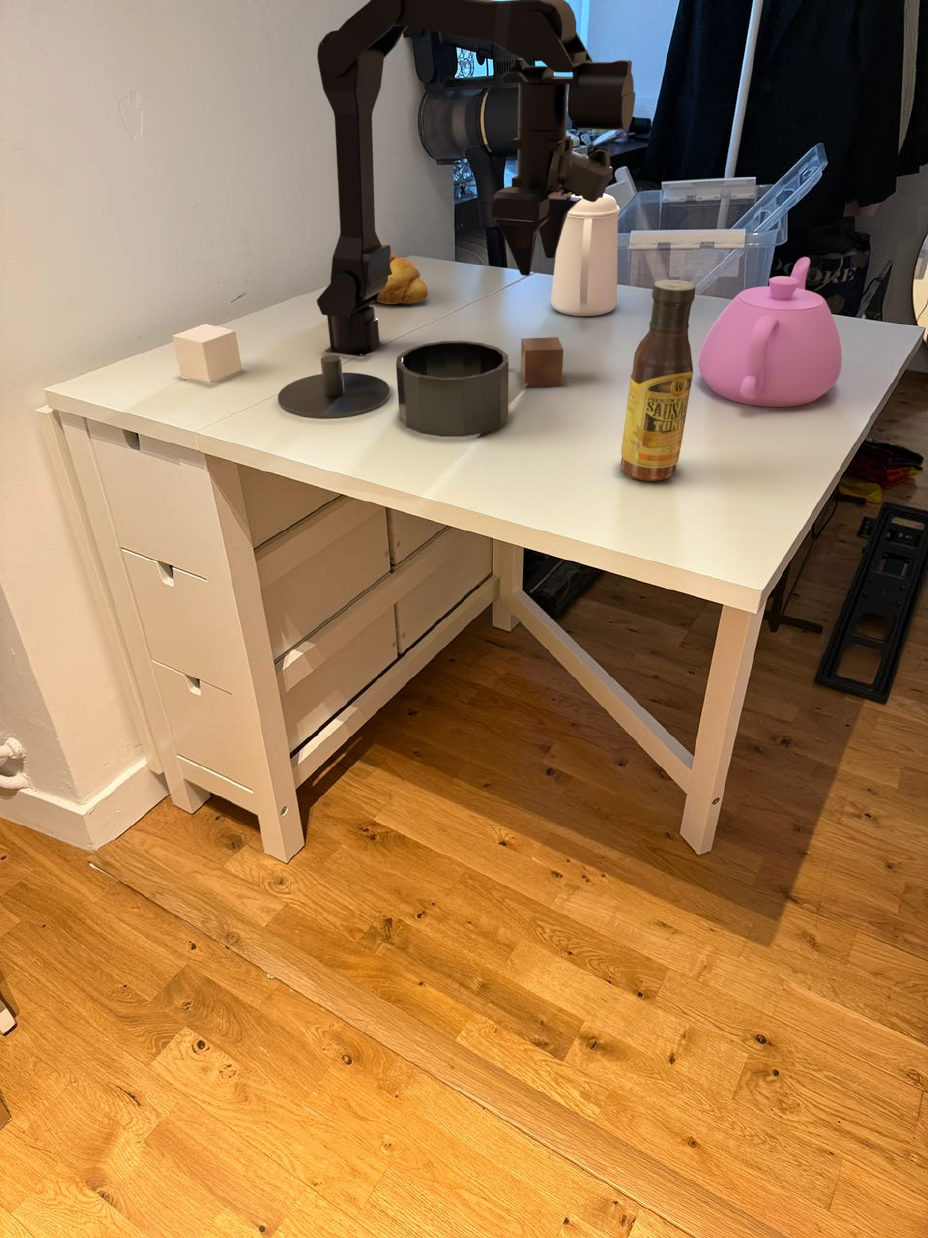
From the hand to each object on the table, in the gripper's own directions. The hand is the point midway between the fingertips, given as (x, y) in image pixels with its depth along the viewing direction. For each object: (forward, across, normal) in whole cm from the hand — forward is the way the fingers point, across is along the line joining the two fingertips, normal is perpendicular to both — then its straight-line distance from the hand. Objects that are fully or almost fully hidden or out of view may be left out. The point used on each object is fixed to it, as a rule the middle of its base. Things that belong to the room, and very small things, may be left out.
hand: (538, 266), depth 112 cm
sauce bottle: (+14, -23, -22) cm, 35 cm away
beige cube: (+14, -17, +42) cm, 48 cm away
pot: (+14, -18, +4) cm, 23 cm away
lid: (+14, -18, +21) cm, 31 cm away
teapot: (+14, +8, -30) cm, 34 cm away
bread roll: (+14, +24, +35) cm, 45 cm away
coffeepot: (+14, +32, +3) cm, 35 cm away
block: (+14, -2, -2) cm, 14 cm away
